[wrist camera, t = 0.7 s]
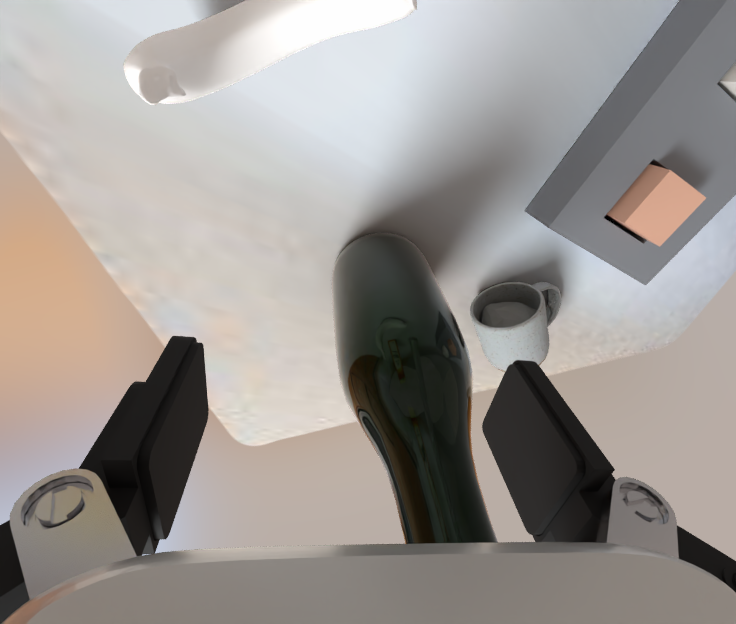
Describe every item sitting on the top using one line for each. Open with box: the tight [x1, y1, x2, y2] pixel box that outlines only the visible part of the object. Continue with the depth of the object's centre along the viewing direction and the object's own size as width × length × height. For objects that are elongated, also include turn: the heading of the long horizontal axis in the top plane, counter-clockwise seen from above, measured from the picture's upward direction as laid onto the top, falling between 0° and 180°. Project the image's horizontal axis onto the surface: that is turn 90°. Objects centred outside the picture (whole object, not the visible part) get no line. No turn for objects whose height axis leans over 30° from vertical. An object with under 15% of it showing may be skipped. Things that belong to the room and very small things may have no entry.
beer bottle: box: [332, 232, 498, 544], centre depth 28 cm, size 10×10×33 cm
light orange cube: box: [605, 164, 706, 247], centre depth 35 cm, size 5×5×5 cm
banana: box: [123, 0, 417, 105], centre depth 24 cm, size 5×19×15 cm, turn 111°
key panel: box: [525, 0, 736, 285], centre depth 34 cm, size 24×14×5 cm, turn 152°
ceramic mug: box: [470, 282, 561, 372], centre depth 43 cm, size 11×8×8 cm
